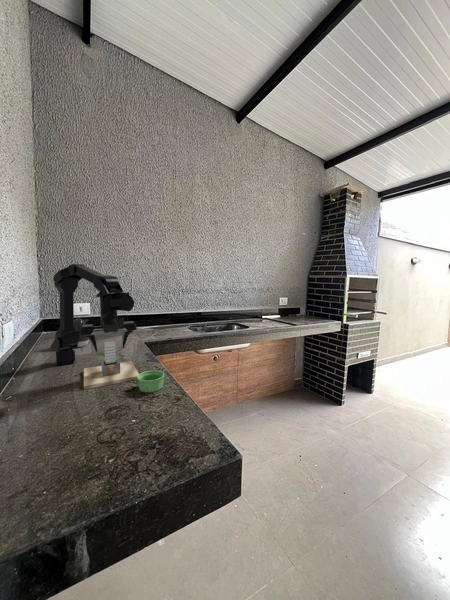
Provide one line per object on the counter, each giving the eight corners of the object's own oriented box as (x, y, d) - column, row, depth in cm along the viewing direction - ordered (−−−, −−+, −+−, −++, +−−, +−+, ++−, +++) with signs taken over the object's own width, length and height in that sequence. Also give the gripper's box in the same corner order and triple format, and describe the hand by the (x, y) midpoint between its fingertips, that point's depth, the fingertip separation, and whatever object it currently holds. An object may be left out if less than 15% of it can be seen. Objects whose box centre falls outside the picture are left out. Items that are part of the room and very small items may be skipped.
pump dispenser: (94, 345, 132) (93, 318, 131) (74, 349, 124) (72, 321, 122) (84, 342, 138) (83, 316, 136) (64, 346, 129) (63, 319, 128)
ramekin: (131, 390, 80) (131, 378, 80) (149, 380, 88) (149, 368, 88) (153, 395, 77) (153, 382, 76) (169, 384, 85) (169, 372, 85)
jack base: (84, 389, 80) (83, 375, 80) (84, 371, 96) (83, 359, 95) (139, 378, 89) (139, 365, 89) (131, 363, 105) (131, 352, 104)
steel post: (105, 363, 89) (104, 344, 89) (104, 360, 93) (104, 342, 92) (116, 362, 91) (115, 343, 91) (115, 359, 95) (114, 341, 94)
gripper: (79, 313, 79) (81, 360, 80) (138, 310, 88) (139, 351, 89) (80, 309, 88) (81, 351, 90) (133, 307, 98) (134, 344, 99)
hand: (110, 349), depth 92 cm, fingers open, 9 cm apart
